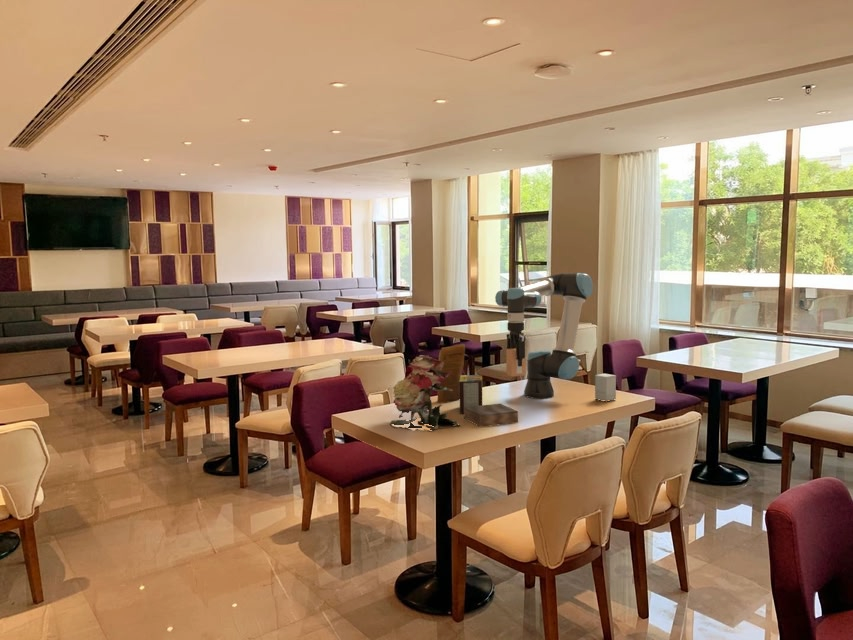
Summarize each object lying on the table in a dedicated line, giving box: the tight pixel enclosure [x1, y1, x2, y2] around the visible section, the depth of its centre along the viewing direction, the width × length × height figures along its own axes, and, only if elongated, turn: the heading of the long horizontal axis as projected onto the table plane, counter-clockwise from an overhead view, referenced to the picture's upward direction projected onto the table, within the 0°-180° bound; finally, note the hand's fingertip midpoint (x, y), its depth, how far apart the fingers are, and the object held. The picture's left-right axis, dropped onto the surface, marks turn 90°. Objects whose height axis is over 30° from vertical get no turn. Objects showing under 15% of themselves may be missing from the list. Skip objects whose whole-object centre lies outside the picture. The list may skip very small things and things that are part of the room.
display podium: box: [463, 403, 519, 427], centre depth 275 cm, size 18×16×5 cm
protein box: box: [459, 374, 483, 415], centre depth 293 cm, size 10×15×16 cm
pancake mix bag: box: [436, 343, 466, 403], centre depth 315 cm, size 7×19×28 cm, turn 129°
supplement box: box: [594, 373, 617, 401], centre depth 312 cm, size 7×7×13 cm
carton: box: [505, 348, 526, 377], centre depth 289 cm, size 7×5×12 cm
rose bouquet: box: [390, 354, 460, 431], centre depth 268 cm, size 26×29×30 cm
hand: (515, 372), depth 289 cm, fingers closed on carton, 5 cm apart
